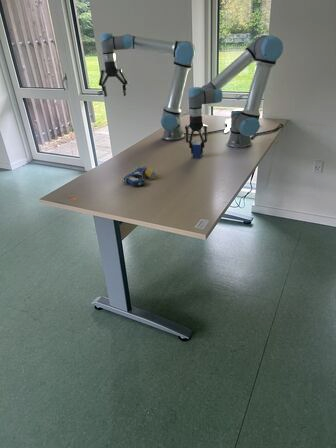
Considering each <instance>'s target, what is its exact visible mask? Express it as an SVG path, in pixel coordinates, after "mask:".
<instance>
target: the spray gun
mask: <svg viewBox="0 0 336 448" xmlns="http://www.w3.org/2000/svg"><path fill="white" fill-rule="evenodd" d="M144 176H146V177H147V178H148V179H150V180H154V179H156V176H157V174H156V172H155V171H154V170H152V169H150V168H147V166H136V168H135V169H133V170H132V171H131V172H130V173H129V174H127V175H126V176H124V177H123V180H122V182H123V183H124V184H126V185H127V184H128V185H131V186H132V187H139V186H143V184H145V179H144Z"/></svg>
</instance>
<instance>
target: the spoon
mask: <svg viewBox="0 0 336 448" xmlns="http://www.w3.org/2000/svg"><path fill="white" fill-rule="evenodd" d="M225 124H226V125H227V127H226V128H224V129H225V130H223V133H224V134H227V133H229V132H230V130H231V129H230V128H231V117H230V118H228V119H226V120H225Z"/></svg>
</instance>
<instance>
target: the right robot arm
mask: <svg viewBox="0 0 336 448" xmlns="http://www.w3.org/2000/svg"><path fill="white" fill-rule="evenodd" d="M283 51H284V44H283V41H282V40H281V38H280V37H278V36H276V35H260V36H258V37H256V38H255V39H254V41H252V42H251V43H249V45H248V46H247V47H245V48H244V49H243V52H242V53H241V54H240V55H239V56H238V57H237V58H235V59H234V60H233V61H232V62H231V63H230V64H229V65H228V66H226V67H225V68H224V69H223V70H222V71H221V72H220V73H219V74H217V75H216V76H215V77H214V78H212V80H210V81H209V82H208V83H207V84H204V85H202V86H201V87H200V86H193V87H190V88H189V89H188V112H189V113H188V114H189V124H188V125H187V124H186V125H185V126H184V129H185V133H186V135H185V143H188V148H189V149H190V154H192V155H193V147H192V145H193V142H194V141H193V138H194V135H193V134H195V132H198V134H200V135H199V138H200V140H201V141H200V142H201V154H203V153H204V148H205V144H206V143H207V141H208V134H207V132H208V124H204V122H203V105H209V104H218V103H219V104H220V103H222V102H223V97H224V95H223V90H222V89H223V88H224V87H225V86H227V84H228V83H230V82H231V81H232V80H234V79H235V78H236V77H237V76H238V75H239V74H240V73H242V72H243V71H245V69H247V68H248V67H249V66H250V65H251V64H255V68H254V72H253V74H252V78H251V79H252V80H251V83H250V87H249V90H248V94H247V97H246V101H245V105H244V108H235V109H232V110H231V112H230V118H231V127H230V128H231V129H230V135H229V137H228V139H227V146H228V147H229V148H235V149H242V148H243V149H244V148H248V147H250V146H251V145H252V140H251V139H254V137H255V136H257V135H263V134H266V133H271V132H275V131H276V130H277V129H278V128H280V126H283V123H279V125H278V126H276V127H275V128H274V129H271V130H266V131H260V132H259V130H260V127H261V124H260V121H259V120H260V117H261V113H260V107H261V105H262V100H263V98H264V94H265V91H266V87H267V84H268V80H269V78H270V74H271V71H272V68H274V67H275V66H276V63H277V61H278V59H279V58H280V57H281V56H282V54H283ZM202 128H203V129H204V130H203V132H202ZM189 129H191V133H190V132H189ZM202 133H204V134H202ZM189 134H191V135H189ZM189 136H190V137H189Z"/></svg>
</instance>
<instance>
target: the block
mask: <svg viewBox="0 0 336 448" xmlns="http://www.w3.org/2000/svg"><path fill="white" fill-rule="evenodd" d="M192 142H193V145H192V147H193V154H192V159H201V158H202V154H203V153H202V154H201V142H202V141H192Z"/></svg>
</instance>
